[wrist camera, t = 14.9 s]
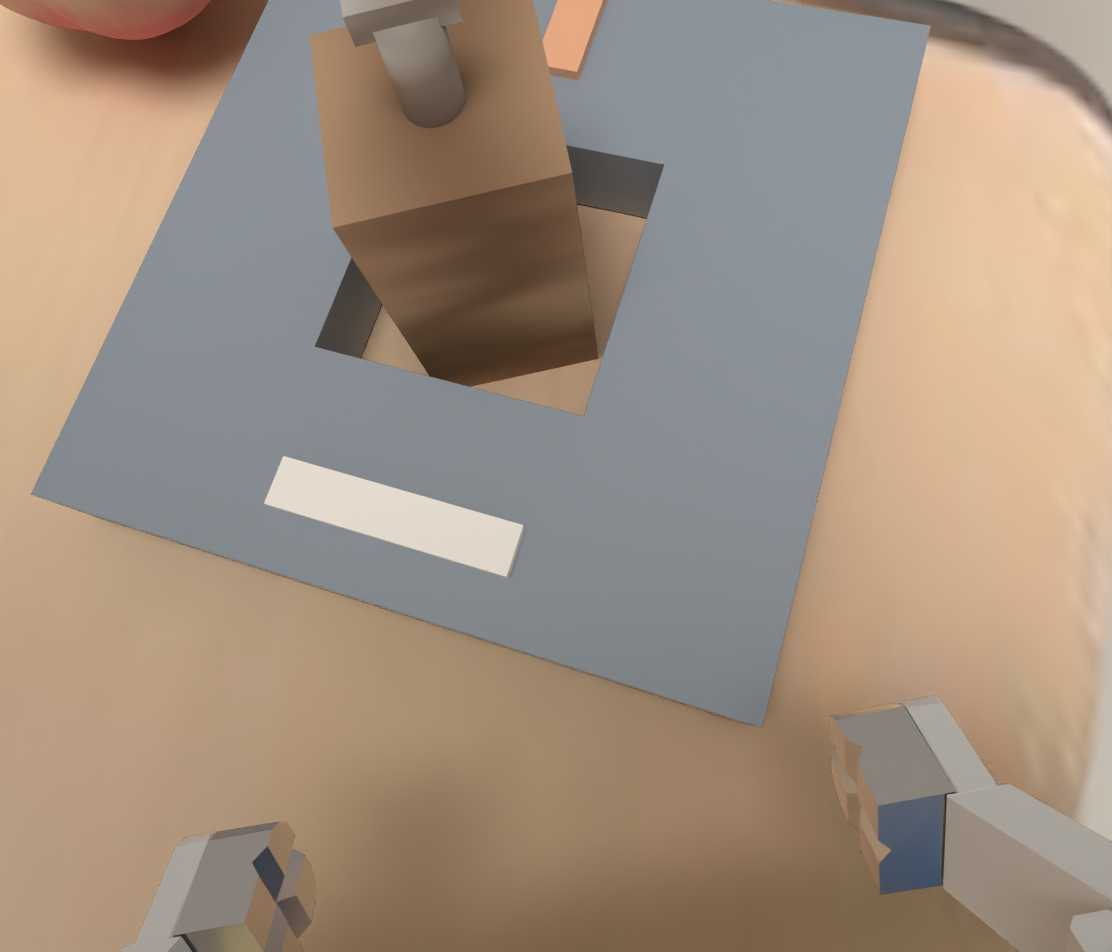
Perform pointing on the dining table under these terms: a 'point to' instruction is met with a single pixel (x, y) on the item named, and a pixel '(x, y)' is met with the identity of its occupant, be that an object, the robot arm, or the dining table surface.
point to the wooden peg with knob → (455, 183)
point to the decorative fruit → (111, 15)
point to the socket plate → (510, 424)
